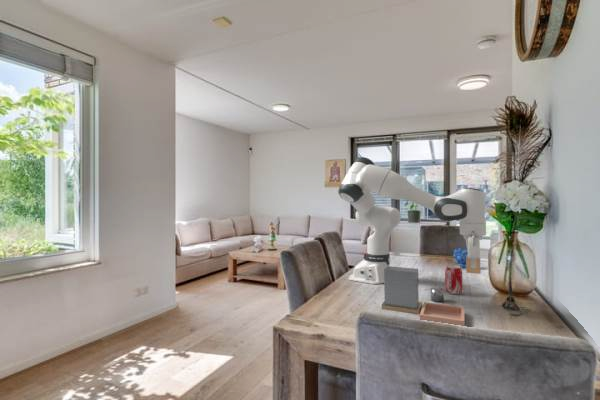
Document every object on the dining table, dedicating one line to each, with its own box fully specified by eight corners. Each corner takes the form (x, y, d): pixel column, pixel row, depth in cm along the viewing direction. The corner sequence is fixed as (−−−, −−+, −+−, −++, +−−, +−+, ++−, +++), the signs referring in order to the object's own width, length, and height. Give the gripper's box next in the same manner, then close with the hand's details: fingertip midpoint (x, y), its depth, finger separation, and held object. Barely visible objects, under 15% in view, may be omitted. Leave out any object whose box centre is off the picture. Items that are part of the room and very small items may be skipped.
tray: (419, 321, 110) (419, 314, 110) (424, 308, 122) (424, 302, 122) (464, 328, 104) (464, 321, 103) (464, 314, 116) (464, 307, 116)
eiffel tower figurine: (516, 318, 112) (515, 281, 112) (487, 310, 121) (487, 275, 121) (536, 310, 120) (536, 275, 119) (508, 302, 128) (507, 270, 128)
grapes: (449, 267, 190) (448, 247, 190) (456, 265, 193) (455, 246, 193) (467, 270, 180) (467, 250, 180) (474, 269, 183) (474, 248, 183)
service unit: (381, 308, 123) (380, 269, 123) (387, 300, 132) (386, 264, 132) (419, 314, 117) (418, 273, 116) (422, 305, 126) (421, 267, 125)
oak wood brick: (466, 272, 118) (466, 254, 118) (466, 269, 122) (466, 252, 122) (480, 273, 116) (480, 255, 116) (479, 270, 120) (479, 252, 120)
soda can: (441, 291, 143) (441, 265, 143) (453, 289, 145) (452, 264, 145) (455, 296, 136) (454, 268, 136) (466, 293, 139) (466, 267, 139)
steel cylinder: (430, 301, 130) (430, 289, 130) (431, 298, 135) (431, 286, 135) (443, 303, 128) (443, 291, 128) (444, 299, 132) (444, 287, 132)
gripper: (484, 233, 108) (484, 273, 108) (480, 227, 126) (480, 261, 127) (463, 233, 111) (464, 271, 111) (462, 227, 129) (463, 260, 129)
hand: (473, 266), depth 119 cm, fingers closed on oak wood brick, 4 cm apart
